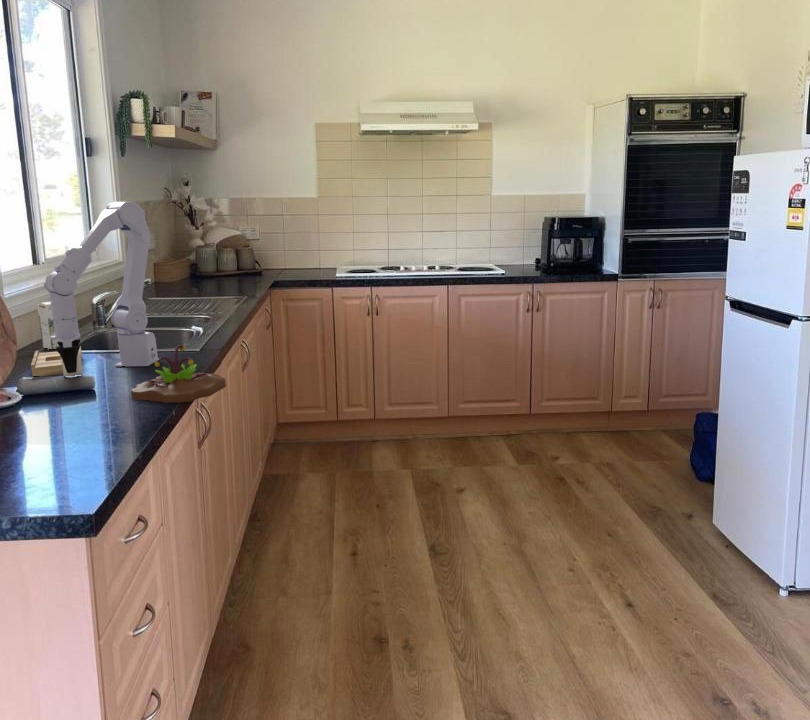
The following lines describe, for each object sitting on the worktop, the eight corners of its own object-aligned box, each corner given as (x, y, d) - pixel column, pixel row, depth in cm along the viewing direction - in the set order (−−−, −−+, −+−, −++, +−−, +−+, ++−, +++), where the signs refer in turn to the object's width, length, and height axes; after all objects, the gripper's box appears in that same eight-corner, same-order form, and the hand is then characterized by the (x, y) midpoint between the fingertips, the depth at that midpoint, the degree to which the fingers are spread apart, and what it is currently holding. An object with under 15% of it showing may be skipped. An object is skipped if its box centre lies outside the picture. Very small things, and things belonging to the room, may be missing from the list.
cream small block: (86, 373, 204) (83, 351, 202) (77, 378, 199) (74, 355, 198) (69, 374, 204) (66, 352, 203) (60, 378, 200) (57, 356, 198)
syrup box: (60, 345, 244) (54, 299, 240) (69, 347, 240) (63, 301, 237) (42, 348, 239) (35, 302, 236) (52, 350, 236) (45, 303, 232)
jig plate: (81, 371, 206) (80, 359, 205) (32, 377, 202) (30, 365, 201) (82, 357, 224) (80, 346, 224) (37, 362, 220) (35, 351, 219)
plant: (240, 384, 188) (236, 339, 185) (187, 406, 170) (182, 357, 168) (175, 379, 196) (170, 336, 193) (118, 399, 178) (112, 352, 176)
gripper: (49, 315, 203) (56, 365, 206) (46, 324, 190) (54, 377, 193) (78, 313, 206) (84, 362, 209) (77, 321, 193) (84, 373, 196)
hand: (72, 369), depth 201 cm, fingers open, 7 cm apart
